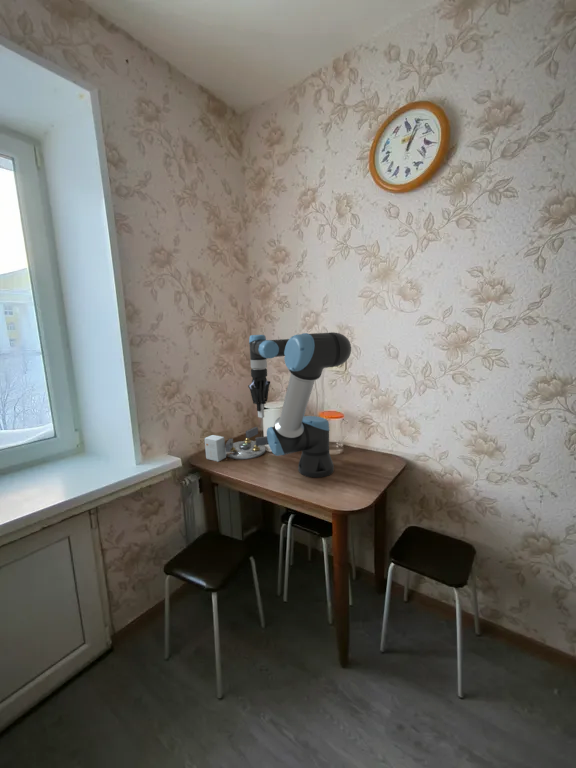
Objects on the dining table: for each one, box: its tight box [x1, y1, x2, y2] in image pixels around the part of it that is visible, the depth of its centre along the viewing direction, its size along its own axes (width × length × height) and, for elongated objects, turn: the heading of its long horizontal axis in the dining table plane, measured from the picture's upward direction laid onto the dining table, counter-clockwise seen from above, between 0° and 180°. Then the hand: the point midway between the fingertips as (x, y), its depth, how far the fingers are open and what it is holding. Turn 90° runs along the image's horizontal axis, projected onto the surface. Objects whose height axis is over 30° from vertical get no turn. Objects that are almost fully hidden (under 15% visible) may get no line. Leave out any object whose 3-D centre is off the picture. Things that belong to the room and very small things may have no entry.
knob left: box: [225, 438, 235, 452], centre depth 159 cm, size 10×4×6 cm, turn 177°
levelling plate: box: [225, 440, 266, 460], centre depth 166 cm, size 20×20×4 cm
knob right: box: [243, 426, 259, 443], centre depth 175 cm, size 10×4×6 cm, turn 147°
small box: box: [204, 434, 227, 463], centre depth 158 cm, size 8×6×10 cm
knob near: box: [253, 435, 269, 451], centre depth 162 cm, size 10×4×6 cm, turn 103°
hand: (261, 417), depth 159 cm, fingers closed
